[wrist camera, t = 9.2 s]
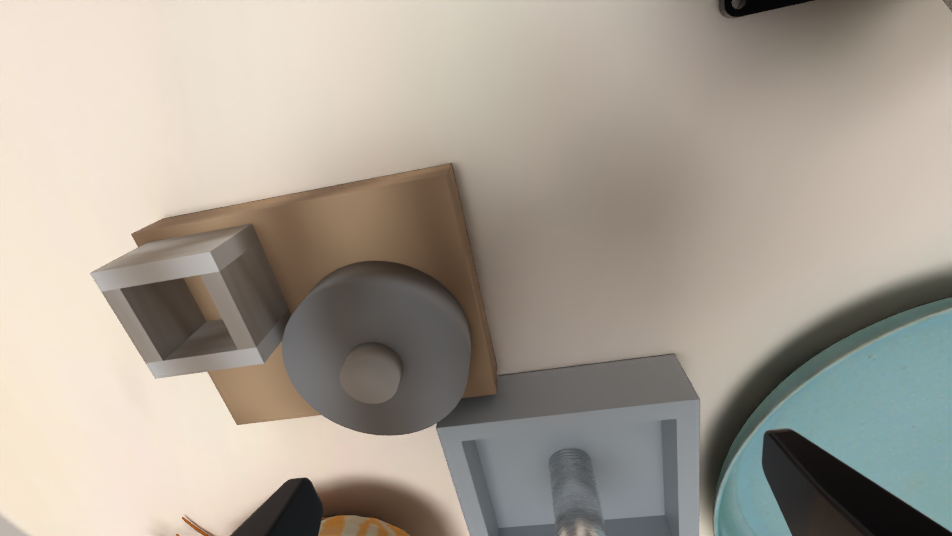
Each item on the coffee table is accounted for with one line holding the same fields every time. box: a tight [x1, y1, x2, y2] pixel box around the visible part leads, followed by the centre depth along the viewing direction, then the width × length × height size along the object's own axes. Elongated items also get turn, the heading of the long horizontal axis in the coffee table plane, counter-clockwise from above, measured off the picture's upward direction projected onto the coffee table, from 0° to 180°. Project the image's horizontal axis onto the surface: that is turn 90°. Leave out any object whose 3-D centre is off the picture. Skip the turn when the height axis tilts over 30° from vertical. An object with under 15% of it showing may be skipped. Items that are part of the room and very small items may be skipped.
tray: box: [436, 354, 700, 536], centre depth 25 cm, size 12×12×3 cm
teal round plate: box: [713, 297, 952, 536], centre depth 24 cm, size 24×24×3 cm
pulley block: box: [90, 163, 497, 435], centre depth 20 cm, size 14×11×5 cm
